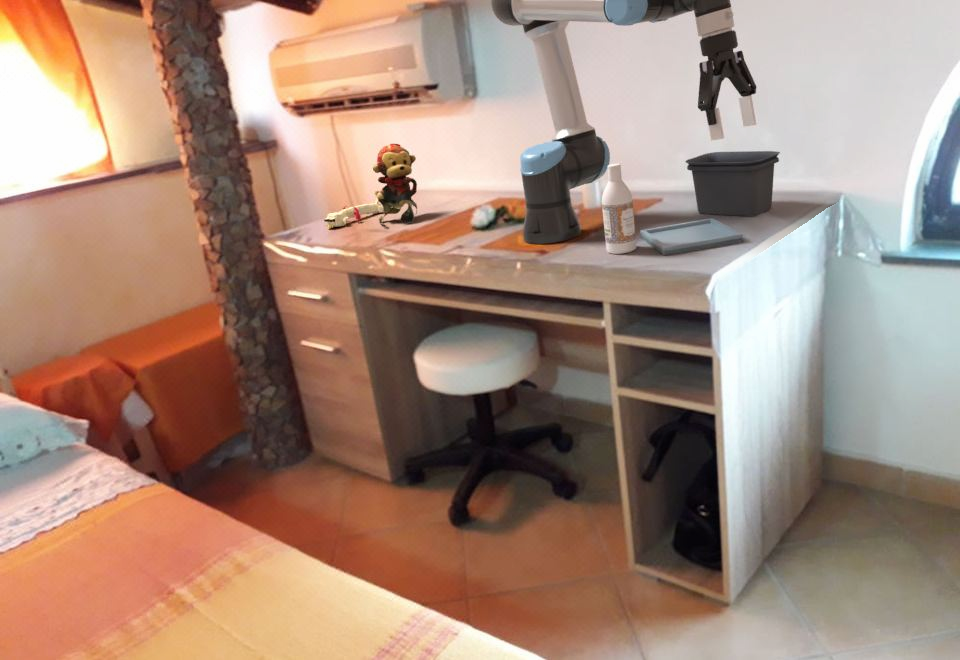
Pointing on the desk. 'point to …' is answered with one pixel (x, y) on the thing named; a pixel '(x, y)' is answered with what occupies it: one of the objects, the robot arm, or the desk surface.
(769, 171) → the storage bin
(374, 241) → the desk surface
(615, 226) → the bath foam
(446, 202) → the desk surface
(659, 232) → the tray
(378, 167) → the stuffed monkey
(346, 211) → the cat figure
